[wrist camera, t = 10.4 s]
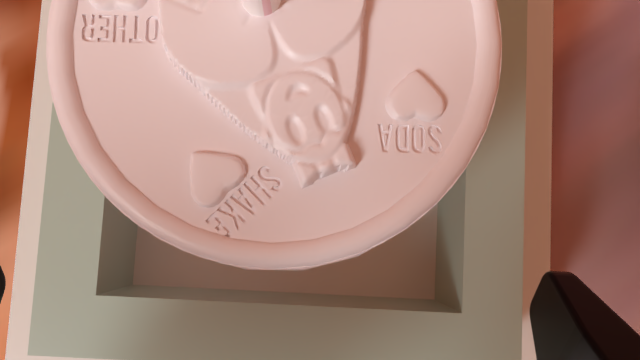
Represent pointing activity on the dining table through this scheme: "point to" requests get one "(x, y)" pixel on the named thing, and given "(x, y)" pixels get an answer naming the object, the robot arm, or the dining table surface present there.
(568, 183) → the dining table surface
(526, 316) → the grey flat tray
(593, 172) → the dining table surface
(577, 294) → the robot arm
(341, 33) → the smoothie
